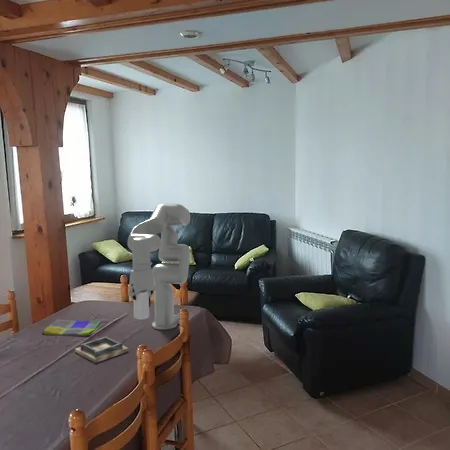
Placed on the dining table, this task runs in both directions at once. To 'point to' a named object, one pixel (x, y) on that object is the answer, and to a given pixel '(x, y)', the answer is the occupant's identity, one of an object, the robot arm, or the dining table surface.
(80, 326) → the dish towel
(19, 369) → the dining table surface
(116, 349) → the square tray
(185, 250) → the robot arm
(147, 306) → the can
